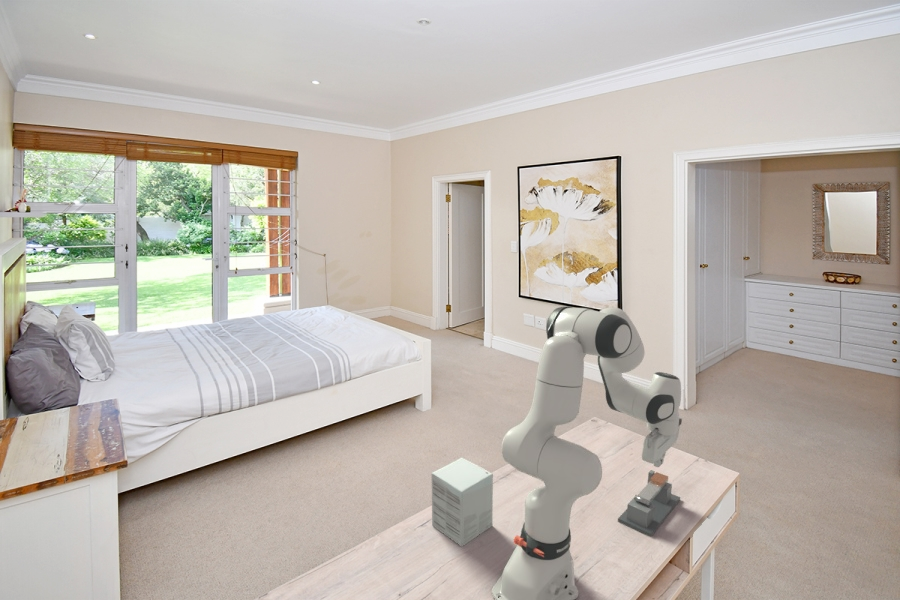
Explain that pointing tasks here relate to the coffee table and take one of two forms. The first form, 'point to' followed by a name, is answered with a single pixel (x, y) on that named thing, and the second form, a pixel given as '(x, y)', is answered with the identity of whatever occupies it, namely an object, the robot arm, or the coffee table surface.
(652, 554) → the coffee table surface
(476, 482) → the supplement box
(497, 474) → the coffee table surface
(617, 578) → the coffee table surface
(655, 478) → the bar
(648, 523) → the base
